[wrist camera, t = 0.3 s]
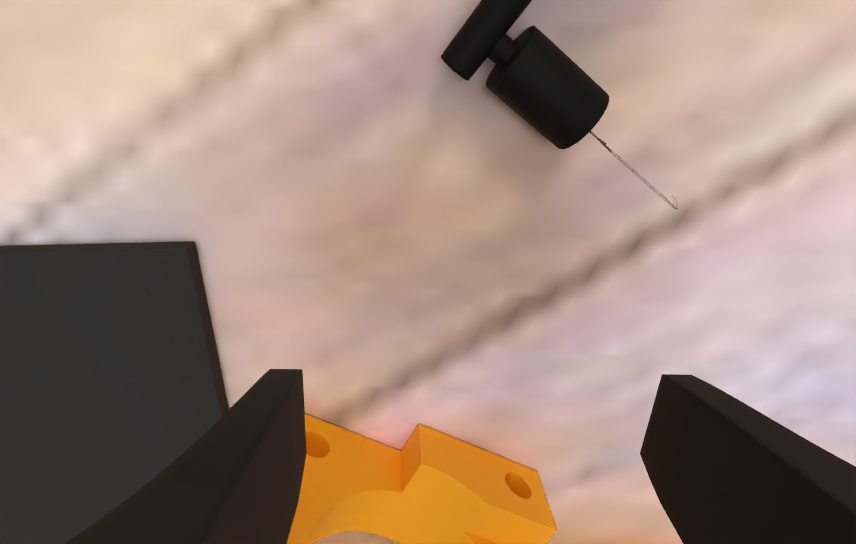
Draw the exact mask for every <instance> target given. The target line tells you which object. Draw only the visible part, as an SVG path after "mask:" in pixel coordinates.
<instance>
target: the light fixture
mask: <svg viewBox="0 0 856 544" xmlns="http://www.w3.org/2000/svg"><path fill="white" fill-rule="evenodd" d="M531 1H532V0H482V1H481V2H480V3H479V5H478V6H477V7H476V9H475V10H474V12H473V13H472V14H471V16H470V17H469V18H468V20H467V21H466V22H465V24H464V25H463V26H462V28H461V29H460V31H459V32H458V33H457V35H456V36H455V37H454V39H453V40H452V41H451V43H450V44H449V46H448V47H447V48H446V50H445V51H444V53H443V54H442V55H441V58H442V59H443V61H444V62H445V63H446V64H447V65H448V66H449V67H450V68H451V69H452V70H453V71H454V72H456V73H457V74H458V75H459V76H461V77H462V78H464V79H465V80H469V79H470V78H471V77H472V76H473V74H474V73H475V72H476V71H477V69H478V68H479V67H480V65H481V64H482V63H483V62H484V60H485V59H486V58H487V57H488V58H489V59H491V60H492V61H493V62H494V63H495V64H496V65H495V66H494V68H493V70H492V71H491V73H490V75H489V77H488V79H487V82H486V86H487V87H488V88H489V89H490V90H491V91H492V92H493V93H494V94H495V95H497V96H498V97H499V98H500V99H501V100H502V101H504V102H505V103H506V104H507V105H508V106H509V107H511V108H512V109H513V110H514V111H515V112H516V113H518V114H519V115H520V116H521V117H522V118H523V119H525V120H526V121H527V122H528V123H529V124H530V125H532V126H533V127H534V128H535V129H536V130H537V131H539V132H540V133H541V134H542V135H543V136H545V137H546V138H547V139H548V140H549V141H550V142H552V143H553V144H554V145H555V146H556V147H558V148H559V149H566V148H569V147H571V146H572V145H574V144H576V143H577V142H578V141H580V140H581V139H582V138H583V137H584V136H585V135H587V134H588V133H589V132H590V133H591V134H592V135H593V133H592V132H591V129H592V128H593V127H594V126H595V125H596V124H597V122H598V121H599V120H600V118H601V117H602V115H603V114H604V112H605V110H606V108H607V106H608V102H609V96H608V94H607V93H606V92H605V91H604V90H603V89H602V88H601V87H600V86H599V85H598V84H596V83H595V82H594V81H593V80H592V79H591V78H590V77H589V76H588V75H587V74H586V73H585V72H584V71H583V70H582V69H580V68H579V67H578V66H577V65H576V64H575V63H574V62H573V61H572V60H571V59H570V58H569V57H568V56H567V55H566V54H564V53H563V52H562V51H561V50H560V49H559V48H558V47H557V46H556V45H555V44H554V43H553V42H552V41H550V40H549V39H548V38H547V37H546V36H545V35H544V34H543V33H542V32H541V31H540V30H538V29H537V28H536V27H535V26H531V27H529V28H527V29H526V30H525V31H524V32H523V33H521V34H520V35H519V36H518V37H517V38H516V40H515V41H513V40H512V39H511V38H510V37H509V36H508V35H507V34H506V33H507V31H508V30H509V28H510V27H511V26H512V25H513V23H514V22H515V21H516V20H517V18H518V17H519V16H520V15H521V13H522V12H523V11H524V9H525V8H526V7H527V6H528V4H529V3H530V2H531ZM594 135H595V134H594ZM594 135H593V136H594ZM595 136H596V135H595ZM595 136H594V137H595ZM596 137H597V136H596ZM597 139H598V140H599V141H600V142H601V143H602V142H603V141H602V140H601V139H599V138H598V137H597ZM603 143H604V144H603ZM603 143H602V144H603V145H604V146H605V147H606V148H607V149H608V150H609V151H610V152H612V151H611V149H610V148H609V147H608V146H606V143H605V142H603ZM613 155H614V154H613ZM616 155H617V154H616ZM614 156H615V155H614ZM617 156H618V155H617ZM615 157H616V156H615ZM618 157H619V156H618ZM616 158H617V157H616ZM619 158H620V157H619ZM622 163H623V162H622ZM625 163H626V162H625ZM623 164H624V163H623ZM626 164H627V163H626ZM624 165H625V164H624ZM627 165H628V164H627ZM625 166H626V165H625ZM628 166H629V165H628ZM631 171H632V170H631ZM634 171H635V170H634ZM632 172H633V171H632ZM635 172H636V171H635ZM633 173H634V172H633ZM636 173H637V172H636ZM634 174H635V173H634ZM637 174H638V173H637ZM640 179H641V178H640ZM643 179H644V178H643ZM641 180H642V179H641ZM644 180H645V179H644ZM642 181H643V180H642ZM645 181H646V180H645ZM643 182H644V181H643ZM646 182H647V181H646ZM649 187H650V186H649ZM652 187H653V186H652ZM650 188H651V187H650ZM653 188H654V187H653ZM651 189H652V188H651ZM654 189H655V188H654ZM655 190H656V189H655ZM658 195H659V194H658ZM661 195H662V194H661ZM659 196H660V195H659ZM662 196H663V195H662ZM660 197H661V196H660ZM663 197H664V196H663ZM673 197H674V196H673ZM664 198H665V197H664ZM674 198H675V197H674ZM665 199H666V198H665ZM666 200H667V199H666ZM675 200H676V199H675ZM667 201H668V200H667ZM668 202H669V201H668ZM668 202H667V203H668ZM669 203H670V202H669ZM669 203H668V204H669ZM676 203H677V202H676ZM670 204H671V203H670ZM670 204H669V205H670ZM671 205H672V204H671ZM672 206H673V208H675V207H674V202H673V205H672ZM677 209H678V208H677ZM675 210H676V208H675Z"/></svg>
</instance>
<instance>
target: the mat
mask: <svg viewBox="0 0 856 544" xmlns="http://www.w3.org/2000/svg"><path fill="white" fill-rule="evenodd" d="M228 410H229V409H228V404H227V399H226V394H225V389H224V384H223V379H222V374H221V369H220V365H219V360H218V355H217V350H216V345H215V340H214V335H213V330H212V325H211V320H210V315H209V310H208V305H207V300H206V295H205V290H204V286H203V281H202V276H201V271H200V266H199V261H198V256H197V251H196V246H195V243H194V242H159V243H117V244H74V245H32V246H0V544H64V543H66V542H67V541H69V540H70V539H72V538H73V537H75V536H76V535H78V534H79V533H81V532H82V531H84V530H85V529H87V528H88V527H89V526H91V525H92V524H94V523H95V522H96V521H98V520H99V519H101V518H102V517H103V516H105V515H106V514H107V513H109V512H110V511H111V510H113V509H114V508H116V507H117V506H118V505H120V504H121V503H122V502H124V501H125V500H126V499H128V498H129V497H130V496H132V495H133V494H134V493H136V492H137V491H138V490H139V489H141V488H142V487H143V486H144V485H146V484H147V483H148V482H149V481H150V480H152V479H153V478H154V477H155V476H156V475H158V474H159V473H160V472H161V471H162V470H163V469H165V468H166V467H167V466H168V465H169V464H170V463H172V462H173V461H174V460H175V459H176V458H177V457H179V456H180V455H181V454H182V453H183V452H184V451H185V450H187V449H188V448H189V447H190V446H191V445H192V444H193V443H195V442H196V441H197V440H198V439H199V438H200V437H201V436H202V435H203V434H204V433H205V432H206V431H207V430H208V429H209V428H210V427H212V426H213V425H214V424H215V423H216V422H217V421H218V420H219V419H220V418H221V417H222V416H223V415H224V414H225V413H226V412H227V411H228Z"/></svg>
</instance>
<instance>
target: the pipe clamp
mask: <svg viewBox="0 0 856 544" xmlns="http://www.w3.org/2000/svg"><path fill="white" fill-rule="evenodd" d="M305 431H306V450H307V454H306V460H305V466H304V472H303V478H302V484H301V490H300V495H299V501H298V505H297V509H296V512H295V516H294V520H293V523H292V527H291V530H290V534H289V537H288V541H287V544H313V543H314V542H316V541H318V540H320V539H322V538H324V537H327V536H329V535H332V534H336V533H341V532H349V531H360V532H368V533H373V534H377V535H381V536H384V537H386V538H389V539H391V540H393V541H396V542H398V543H399V544H546V543H547V542H548V540H549V539H550V538H551V537H552V536H553V535H554V534H555V532H556V531H557V527H556V524H555V521H554V519H553V516H552V513H551V510H550V507H549V504H548V501H547V498H546V495H545V492H544V489H543V486H542V483H541V480H540V477H539V474H538V471H535V470H533V469H530V468H528V467H525V466H523V465H520V464H518V463H515V462H513V461H510V460H508V459H506V458H503V457H501V456H498V455H496V454H493V453H491V452H488V451H486V450H483V449H481V448H478V447H476V446H473V445H471V444H469V443H466V442H464V441H461V440H459V439H456V438H454V437H451V436H449V435H446V434H444V433H441V432H439V431H436V430H434V429H431V428H429V427H427V426H424V425H422V424H419V425H418V426H417V428H416V429H415V431H414V432H413V434H412V435H411V437H410V438H409V440H408V441H407V442H406V444H405V445H404V447H403V448H402V450H401V451H400V450H397V449H395V448H392V447H390V446H387V445H384V444H382V443H379V442H377V441H374V440H371V439H369V438H366V437H364V436H361V435H359V434H356V433H353V432H351V431H348V430H346V429H343V428H340V427H338V426H335V425H333V424H330V423H327V422H325V421H322V420H320V419H317V418H315V417H312V416H309V415H307V414H305Z"/></svg>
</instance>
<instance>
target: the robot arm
mask: <svg viewBox="0 0 856 544" xmlns="http://www.w3.org/2000/svg"><path fill="white" fill-rule="evenodd" d="M306 454H307V450H306V431H305V412H304V393H303V374H302V369H270V370H269V371H268V372H266V373H265V374H264V375H263V376H262V377H261V378H260V379H259V380H258V381H257V382H256V383H255V384H254V385H253V386H252V387H251V388H250V389H249V390H248V391H247V392H246V393H245V394H244V395H243V396H242V397H241V398H240V399H239V400H238V401H237V402H236V403H235V404H234V405H233V406H232V407H231V408H230V409H229V410H228V411H227V412H226V413H225V414H224V415H223V416H222V417H221V418H220V419H219V420H218V421H217V422H216V423H215V424H214V425H213V426H212V427H210V428H209V429H208V430H207V431H206V432H205V433H204V434H203V435H202V436H201V437H200V438H199V439H198V440H197V441H196V442H195V443H193V444H192V445H191V446H190V447H189V448H188V449H187V450H185V451H184V452H183V453H182V454H181V455H180V456H179V457H177V458H176V459H175V460H174V461H173V462H172V463H170V464H169V465H168V466H167V467H166V468H165V469H163V470H162V471H161V472H160V473H159V474H158V475H156V476H155V477H154V478H153V479H152V480H150V481H149V482H148V483H147V484H146V485H144V486H143V487H142V488H141V489H139V490H138V491H137V492H136V493H134V494H133V495H132V496H130V497H129V498H128V499H126V500H125V501H124V502H122V503H121V504H120V505H118V506H117V507H116V508H114V509H113V510H111V511H110V512H109V513H107V514H106V515H105V516H103V517H102V518H101V519H99V520H98V521H96V522H95V523H94V524H92V525H91V526H89V527H88V528H87V529H85V530H84V531H82V532H81V533H79V534H78V535H76V536H75V537H73V538H72V539H70V540H69V541H67V542H66V543H64V544H287V541H288V537H289V534H290V530H291V527H292V523H293V520H294V516H295V512H296V509H297V505H298V501H299V495H300V490H301V484H302V478H303V472H304V466H305V460H306ZM640 455H641V457H642V460H643V462H644V465H645V467H646V470H647V472H648V475H649V478H650V480H651V482H652V485H653V487H654V489H655V492H656V494H657V496H658V498H659V501H660V503H661V504H662V506H663V508H664V510H665V512H666V514H667V515H668V517H669V519H670V521H671V522H672V524H673V526H674V528H675V529H676V531H677V533H678V535H679V537H680V538H681V540H682V542H683V544H856V467H855V466H853V465H851V464H850V463H848V462H846V461H844V460H842V459H840V458H838V457H837V456H835V455H833V454H831V453H829V452H828V451H826V450H824V449H822V448H820V447H819V446H817V445H815V444H813V443H812V442H810V441H808V440H806V439H805V438H803V437H801V436H799V435H798V434H796V433H794V432H792V431H791V430H789V429H787V428H785V427H784V426H782V425H780V424H779V423H777V422H775V421H773V420H772V419H770V418H768V417H767V416H765V415H763V414H761V413H760V412H758V411H756V410H755V409H753V408H751V407H749V406H748V405H746V404H744V403H743V402H741V401H739V400H737V399H736V398H734V397H732V396H730V395H729V394H727V393H725V392H723V391H722V390H720V389H718V388H716V387H714V386H713V385H711V384H709V383H707V382H705V381H703V380H701V379H699V378H697V377H695V376H692V375H664V374H662V377H661V380H660V384H659V387H658V391H657V395H656V398H655V402H654V405H653V409H652V412H651V416H650V420H649V423H648V427H647V430H646V434H645V437H644V441H643V445H642V448H641V452H640Z"/></svg>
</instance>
